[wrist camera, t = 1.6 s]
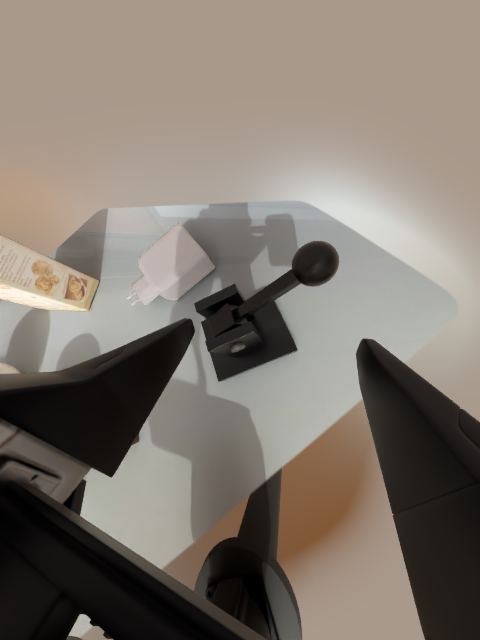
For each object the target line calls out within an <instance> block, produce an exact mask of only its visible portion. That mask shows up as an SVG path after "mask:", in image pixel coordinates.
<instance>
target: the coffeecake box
mask: <svg viewBox="0 0 480 640" xmlns="http://www.w3.org/2000/svg"><path fill="white" fill-rule="evenodd" d="M98 284H99V280H96V279H94V278H92V277H89V276H87V275H85V274H83V273H81V272H79V271H77V270H75V269H72V268H70V267H68V266H66V265H64V264H62V263H60V262H58V261H55V260H53V259H51V258H49V257H47V256H45V255H43V254H40V253H38V252H36V251H34V250H32V249H30V248H28V247H26V246H24V245H22V244H19V243H17V242H15V241H13V240H11V239H9V238H7V237H5V236H2V235H0V299H4V300H8V301H12V302H16V303H20V304H24V305H28V306H32V307H36V308H40V309H48V310H77V311H89V308H90V305H91V302H92V299H93V297H94V294H95V292H96V289H97V287H98Z"/></svg>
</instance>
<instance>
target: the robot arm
mask: <svg viewBox="0 0 480 640" xmlns="http://www.w3.org/2000/svg"><path fill="white" fill-rule="evenodd" d="M194 333H195V329H194V326H193V322H192V320H191V319H187V318H184V319H182V320H179V321H177V322H175V323H173V324H171V325H168V326H166V327H164V328H162V329H159V330H157V331H155V332H153V333H151V334H148V335H146V336H144V337H142V338H139V339H137V340H135V341H133V342H130V343H128V344H127V345H124V346H122V347H119V348H117V349H115V350H112V351H110V352H108V353H105V354H103V355H100V356H98V357H95V358H93V359H90V360H88V361H85V362H83V363H80V364H78V365H75V366H73V367H70V368H67V369H64V370H60V371H54V372H39V373H13V374H0V640H82V639H81V638H78V637H74V636H68V635H69V633H70V631H71V629H72V627H73V626H74V624H75V622H76V620H77V618H78V616H79V614H86V615H87V616H88V617H89V618H90V619H91V621H90V624H91V625H93V626H99V627H100V628H102V629H103V630H104V631H105V632H104V634H103V635H104V636H105V637H106V638H107V639H113V640H279V638H278V634H277V631H276V627H275V623H274V620H273V616H272V612H271V609H270V605H269V601H268V598H267V594H266V590H265V587H264V583H263V579H262V577H261V575H260V574H258V573H254V574H249V575H245V576H238V577H233V578H229V579H224V580H220V581H218V582H213V583H209V584H208V586H207V589H206V592H205V593H206V599H205V598H203V597H202V596H200V595H199V594H197V593H196V592H194V591H193V590H191V589H189V588H188V587H187V586H185V585H184V584H182V583H180V582H179V581H177V580H176V579H174V578H173V577H171V576H170V575H168V574H167V573H165V572H164V571H162V570H161V569H159V568H158V567H156V566H155V565H153V564H152V563H150V562H149V561H147V560H146V559H144V558H143V557H141V556H140V555H138V554H137V553H135V552H134V551H132V550H131V549H129V548H128V547H126V546H124V545H123V544H121V543H120V542H118V541H117V540H115V539H114V538H112V537H111V536H109V535H108V534H106V533H105V532H103V531H102V530H100V529H99V528H97V527H96V526H94V525H93V524H91V523H90V522H88V521H87V520H85V519H84V518H82V517H81V516H80V513H81V507H82V502H83V497H84V491H85V486H86V481H85V480H83V478H84V477H85V475H86V474H87V473H88V472H89V470H90V469H91V468H94V469H95V470H97V471H99V472H101V473H103V474H105V475H107V476H109V477H111V478H112V477H113V475H114V474H115V472H116V471H117V469H118V467H119V465H120V464H121V462H122V460H123V459H124V457H125V455H126V453H127V452H128V450H129V448H130V447H131V445H132V443H133V442H134V440H135V438H136V436H137V435H138V433H139V431H140V430H141V428H142V426H143V424H144V423H145V421H146V419H147V418H148V416H149V414H150V412H151V411H152V409H153V407H154V406H155V404H156V402H157V401H158V399H159V397H160V395H161V394H162V392H163V390H164V389H165V387H166V385H167V384H168V382H169V380H170V378H171V377H172V375H173V373H174V372H175V370H176V368H177V367H178V365H179V363H180V361H181V360H182V358H183V356H184V354H185V353H186V350H187V348H188V346H189V344H190V342H191V340H192V337H193V335H194ZM356 359H357V368H358V376H359V384H360V389H361V393H362V397H363V401H364V405H365V409H366V413H367V417H368V420H369V424H370V428H371V432H372V436H373V440H374V444H375V448H376V451H377V455H378V459H379V463H380V467H381V471H382V475H383V479H384V482H385V487H386V490H387V494H388V498H389V502H390V506H391V510H392V513H393V514H394V515H393V518H394V522H395V526H396V530H397V534H398V537H399V541H400V546H401V550H402V553H403V557H404V561H405V565H406V569H407V573H408V577H409V581H410V585H411V588H412V592H413V596H414V600H415V604H416V608H417V612H418V616H419V620H420V623H421V627H422V631H423V634H424V637H425V640H480V422H479V421H477V420H476V419H475V418H474V417H472V416H471V415H469V414H468V413H467V412H466V411H464V410H463V409H460V407H459V406H458V405H457V404H455V403H454V402H453V401H452V400H450V399H449V398H448V397H447V396H445V395H444V394H443V393H441V392H440V391H439V390H438V389H436V388H435V387H434V386H432V385H431V384H430V383H429V382H427V381H426V380H425V379H423V378H422V377H421V376H420V375H418V374H417V373H416V372H414V371H413V370H412V369H411V368H409V367H408V366H407V365H406V364H404V363H403V362H402V361H400V360H399V359H398V358H397V357H395V356H394V355H393V354H391V353H390V352H389V351H388V350H386V349H385V348H384V347H382V346H381V345H380V344H379V343H377V342H376V341H375V340H372V339H362V340H361V342H360V344H359V347H358V349H357V352H356ZM256 581H258V582H259V583H257V582H256ZM210 591H211V593H210Z"/></svg>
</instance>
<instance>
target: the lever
mask: <svg viewBox="0 0 480 640" xmlns="http://www.w3.org/2000/svg"><path fill="white" fill-rule="evenodd" d="M338 265H339V256H338V253H337V251H336V249H335V248H334V247H333V246H332V245H331V244H329V243H327V242H323V241H313V242H310V243H307V244H305V245H304V246H302V247H301V248H300V249H299V250H298V251H297V252H296V254H295V256H294V258H293V261H292V269H291V270H290V271H288V272H287V273H285V274H284V275H282V276H281V277H280V278H278V279H277V280H275V281H274V282H272V283H271V284H270V285H268V286H267V287H265V288H264V289H262V290H261V291H260V292H258V293H257V294H255V295H254V296H252V297H251V298H249V299H248V300H247V301H245V302H244V303H242V304H241V305H239V306H236V305H232V304H229V303H227V304H225V305H224V306H223V307H221V308H220V309H219V310H217V311H216V312H215V313H213V314H212V315H210V316H209V317H208V320H209V323H210V326H211V330H212V333H213V336H214V337H216V336H218V335H221V334H223V333H225V332H228V331H230V330H232V329H234V328H237V327H239V326H241V325H243V324H246V323H248V321H247V319H246V318H247V317H249V316H250V315H252V314H254V313H255V312H257V311H258V310H260V309H262V308H263V307H265V306H266V305H268V304H269V303H271V302H273V301H274V300H276V299H277V298H279V297H280V296H282V295H284V294H285V293H287V292H288V291H290V290H292V289H293V288H295V287H296V286H298V285H299V284H303V285H306V286H319V285H322V284H324V283H326V282H328V281H329V280H330V279H331V278H332V277H333V276H334V275H335V273H336V271H337V269H338Z"/></svg>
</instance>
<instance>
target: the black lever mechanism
mask: <svg viewBox="0 0 480 640" xmlns="http://www.w3.org/2000/svg"><path fill="white" fill-rule="evenodd" d="M244 302H245V299H244V298H243V296H242V294H241V293H240V291H239V289H238V288H237V286H236V285H235V284H233V285H231V286H229V287H227V288H225V289H223V290H221V291H219V292H217V293H215V294H213V295H210V296H208V297H206V298H204V299H202V300H200V301H198V302H196V303H194V304H195V308H196V311H197V312H198V313H199V314H201V315H202V316H204V317H206V318H207V319H206V320H204V321H202V322H201V324H202V327H203V330H204V334H205V337H206V341H205V342H206V345H207V349H208V352H210V354H211V358H212V361H213V364H214V368H215V371H216V375H217V378H218V381H223V380H226V379H228V378H231V377H233V376H236V375H238V374H241V373H243V372H246V371H248V370H251V369H253V368H256V367H258V366H261V365H263V364H266V363H268V362H271V361H273V360H276V359H278V358H281V357H283V356H286V355H288V354H291V353H293V352H296V351H297V347H296V345H295V343H294V341H293V339H292V337H291V335H290V333H289V331H288V329H287V327H286V325H285V323H284V321H283V319H282V317H281V315H280V313H279V311H278V309H277V307H276V304H275V302H274V301H273V302H271V303H269V304H268V305H266V306H265V307H263V308H262V309H260V310H258V311H257V312H255V313H254V314H252V315H250V316H249V317H247V318H246V319H247V321H248V323H246V324H243V325H241V326H239V327H237V328H234V329H232V330H230V331H228V332H225V333H223V334H221V335H218V336H216V337H214V336H213V333H212V330H211V326H210V323H209V320H208V317H209V316H210V315H212V314H213V313H215V312H216V311H217V310H219V309H220V308H221V307H223V306H224V305H225V304H227V303H229V304H232V305H236V306H239V305H241V304H242V303H244Z"/></svg>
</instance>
